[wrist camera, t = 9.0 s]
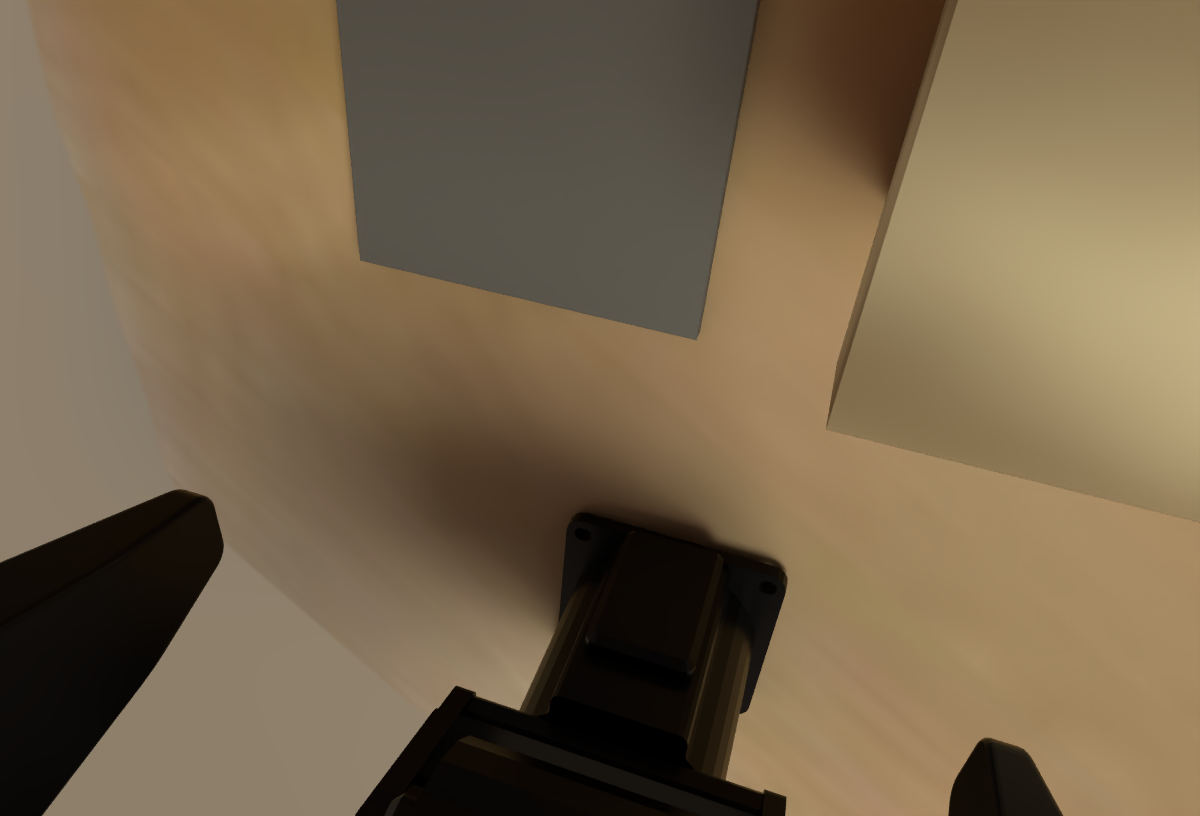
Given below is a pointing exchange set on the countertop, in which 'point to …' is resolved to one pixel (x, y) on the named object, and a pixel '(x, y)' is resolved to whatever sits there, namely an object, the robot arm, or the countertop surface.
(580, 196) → the mat
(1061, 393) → the beige block on tray
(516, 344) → the countertop surface
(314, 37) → the countertop surface
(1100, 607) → the countertop surface
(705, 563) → the robot arm
